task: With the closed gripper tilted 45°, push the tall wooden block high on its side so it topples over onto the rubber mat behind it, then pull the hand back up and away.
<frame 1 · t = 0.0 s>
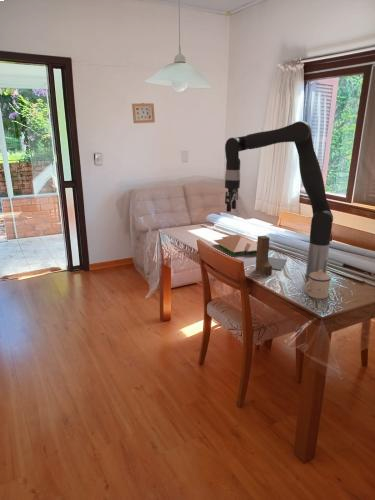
hand: (231, 210, 191), 29 cm above the table, tool pointing down, fingers open, 8 cm apart
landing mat: (271, 263, 200), on the table
wooden block: (263, 272, 188), on the table
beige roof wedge: (238, 249, 227), on the table
teacup with lid: (314, 295, 161), on the table
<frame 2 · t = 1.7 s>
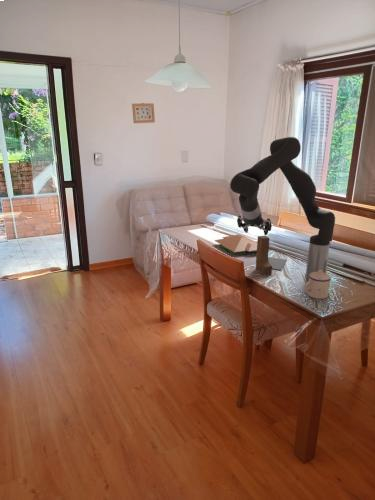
hand: (256, 232, 163), 26 cm above the table, tool tilted 45°, fingers open, 8 cm apart
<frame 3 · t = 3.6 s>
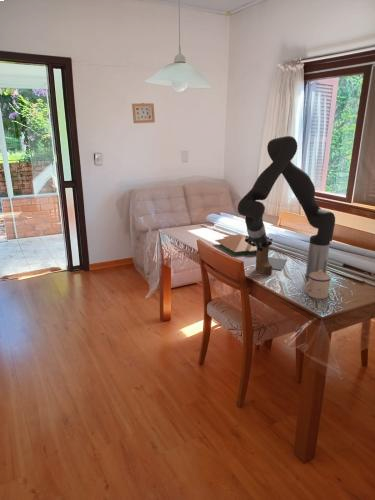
hand: (260, 249, 174), 15 cm above the table, tool tilted 45°, fingers closed
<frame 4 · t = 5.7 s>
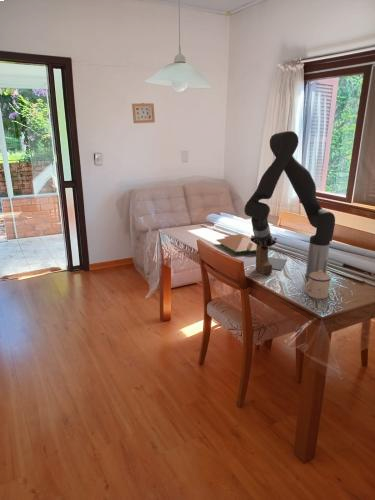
hand: (265, 248, 184), 13 cm above the table, tool tilted 45°, fingers closed
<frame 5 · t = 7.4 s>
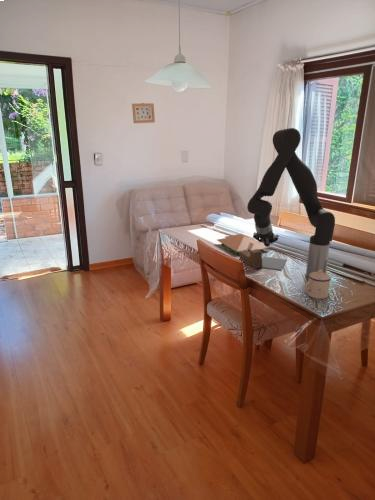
hand: (267, 245, 189), 13 cm above the table, tool tilted 45°, fingers closed
wooden block: (258, 260, 190), point 5 cm above the table, touching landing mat
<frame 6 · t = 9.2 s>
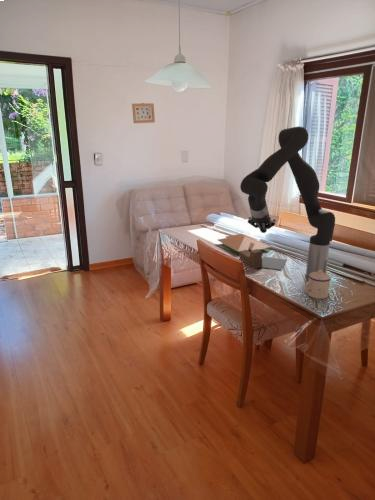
hand: (263, 231, 173), 24 cm above the table, tool tilted 45°, fingers closed
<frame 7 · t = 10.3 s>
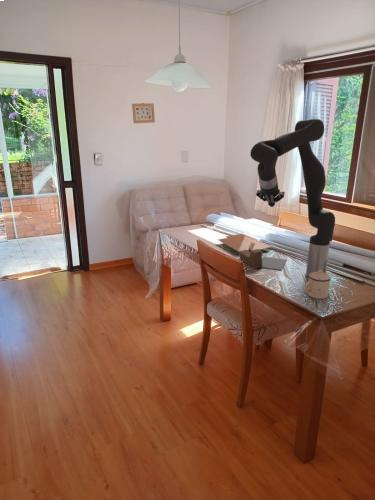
hand: (271, 205, 170), 36 cm above the table, tool tilted 45°, fingers closed
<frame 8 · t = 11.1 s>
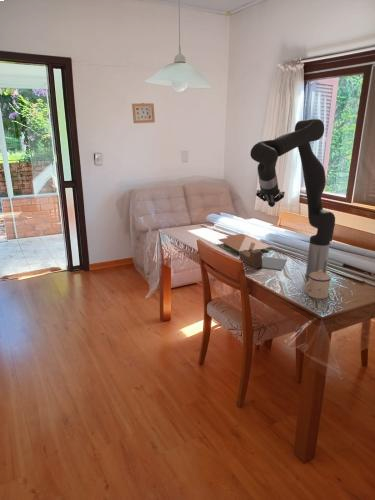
hand: (271, 205, 170), 36 cm above the table, tool tilted 45°, fingers closed
at the end: wooden block tilted 90°; wooden block touching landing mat, table; the gripper is holding nothing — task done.
